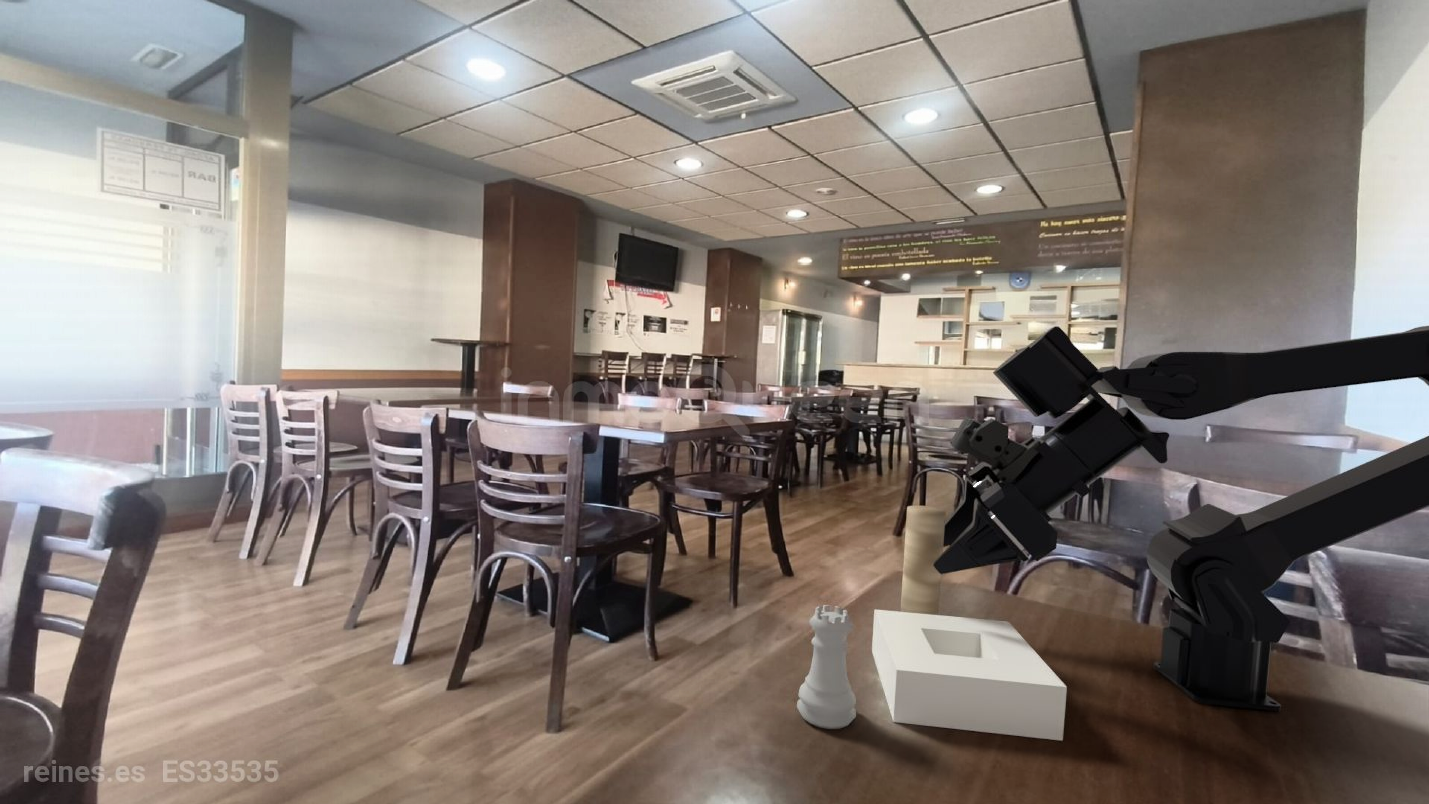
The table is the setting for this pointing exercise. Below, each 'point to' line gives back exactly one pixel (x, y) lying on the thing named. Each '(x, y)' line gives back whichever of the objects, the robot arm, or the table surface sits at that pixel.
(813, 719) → the rook chess piece
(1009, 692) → the block
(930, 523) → the peg
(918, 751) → the table surface
